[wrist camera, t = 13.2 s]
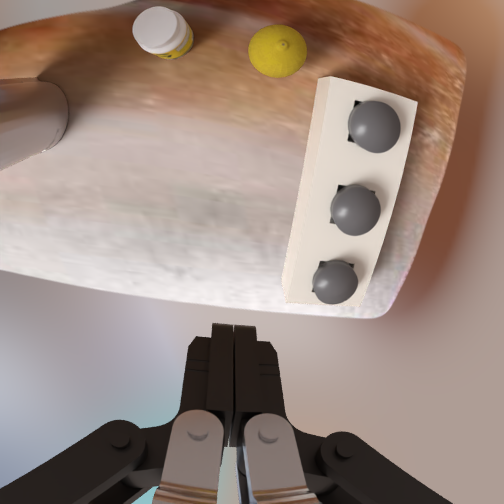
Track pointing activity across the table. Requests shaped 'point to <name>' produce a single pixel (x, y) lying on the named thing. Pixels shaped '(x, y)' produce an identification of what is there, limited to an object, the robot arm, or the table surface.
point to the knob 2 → (374, 126)
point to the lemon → (277, 51)
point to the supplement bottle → (163, 33)
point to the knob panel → (343, 173)
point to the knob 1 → (334, 281)
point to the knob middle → (355, 209)
